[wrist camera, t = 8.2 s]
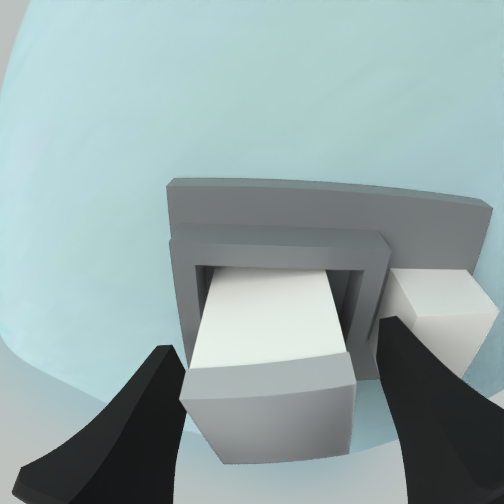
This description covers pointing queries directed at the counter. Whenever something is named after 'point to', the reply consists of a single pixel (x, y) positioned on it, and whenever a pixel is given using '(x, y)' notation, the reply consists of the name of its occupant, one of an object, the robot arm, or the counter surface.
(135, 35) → the counter surface
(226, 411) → the plug
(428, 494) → the robot arm
